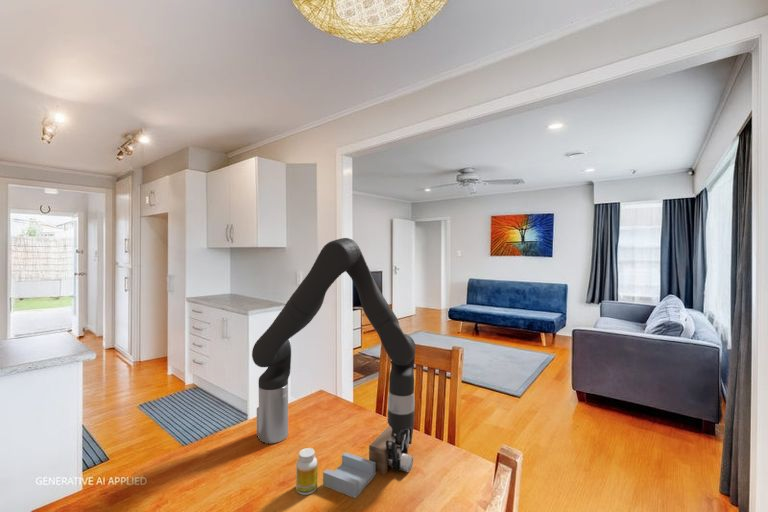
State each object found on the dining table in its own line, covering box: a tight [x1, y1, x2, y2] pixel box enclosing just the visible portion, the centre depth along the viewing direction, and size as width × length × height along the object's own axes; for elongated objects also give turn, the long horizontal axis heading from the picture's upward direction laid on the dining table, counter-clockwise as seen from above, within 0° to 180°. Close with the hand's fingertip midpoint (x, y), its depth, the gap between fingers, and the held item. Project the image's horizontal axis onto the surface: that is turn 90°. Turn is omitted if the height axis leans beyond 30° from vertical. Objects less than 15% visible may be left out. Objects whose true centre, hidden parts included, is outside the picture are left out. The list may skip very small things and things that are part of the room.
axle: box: [387, 451, 414, 473], centre depth 101 cm, size 12×4×4 cm, turn 62°
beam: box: [368, 424, 400, 474], centre depth 106 cm, size 5×18×7 cm, turn 152°
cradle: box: [322, 451, 377, 499], centre depth 94 cm, size 10×10×4 cm
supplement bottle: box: [295, 447, 318, 496], centre depth 91 cm, size 5×5×10 cm
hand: (399, 465), depth 99 cm, fingers closed on axle, 4 cm apart
